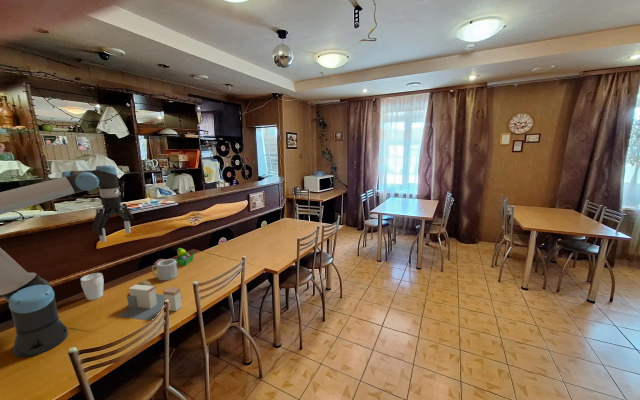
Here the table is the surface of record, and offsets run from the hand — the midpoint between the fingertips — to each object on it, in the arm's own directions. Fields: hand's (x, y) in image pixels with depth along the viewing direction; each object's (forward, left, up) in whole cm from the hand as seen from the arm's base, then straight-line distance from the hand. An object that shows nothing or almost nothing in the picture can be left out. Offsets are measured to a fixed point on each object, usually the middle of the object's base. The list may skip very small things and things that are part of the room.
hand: (116, 236), depth 129 cm
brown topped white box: (-5, -33, -34) cm, 48 cm away
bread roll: (+6, -5, -35) cm, 36 cm away
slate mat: (-5, -21, -35) cm, 41 cm away
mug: (+24, -4, -35) cm, 43 cm away
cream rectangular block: (-5, -16, -34) cm, 38 cm away
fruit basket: (+45, -2, -35) cm, 57 cm away
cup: (-2, +17, -35) cm, 39 cm away
